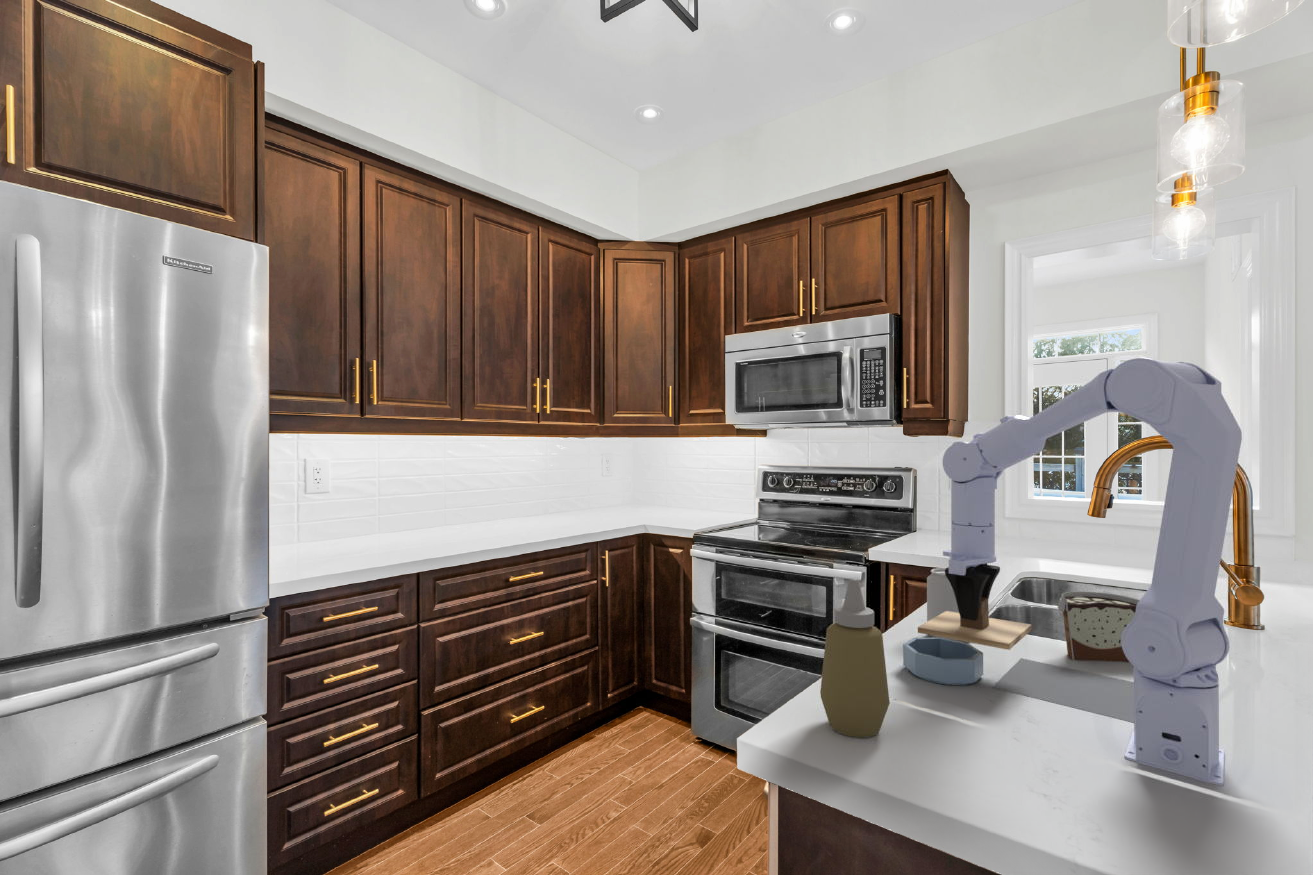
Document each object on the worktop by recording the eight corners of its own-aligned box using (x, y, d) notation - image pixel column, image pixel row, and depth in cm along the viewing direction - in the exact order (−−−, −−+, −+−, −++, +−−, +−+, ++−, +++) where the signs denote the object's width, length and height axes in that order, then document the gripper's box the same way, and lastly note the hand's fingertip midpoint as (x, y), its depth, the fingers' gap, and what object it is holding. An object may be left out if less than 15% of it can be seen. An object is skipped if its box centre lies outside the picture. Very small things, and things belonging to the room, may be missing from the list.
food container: (1120, 651, 102) (1120, 591, 102) (1146, 665, 96) (1146, 601, 96) (1042, 649, 104) (1042, 589, 104) (1062, 662, 98) (1062, 598, 98)
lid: (1009, 649, 82) (1008, 613, 82) (917, 632, 90) (916, 599, 91) (1031, 629, 91) (1030, 597, 91) (946, 615, 99) (945, 585, 99)
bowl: (967, 694, 85) (967, 665, 85) (895, 675, 92) (895, 648, 92) (989, 674, 92) (989, 647, 92) (920, 658, 99) (920, 633, 99)
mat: (1136, 726, 76) (1136, 722, 76) (992, 690, 86) (992, 687, 86) (1149, 688, 87) (1149, 685, 87) (1021, 660, 98) (1021, 658, 98)
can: (917, 634, 112) (917, 567, 112) (951, 630, 114) (951, 565, 114) (948, 647, 105) (948, 576, 105) (983, 643, 107) (983, 573, 107)
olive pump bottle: (859, 709, 80) (858, 570, 80) (904, 736, 73) (904, 584, 73) (806, 718, 77) (806, 575, 78) (848, 748, 70) (848, 589, 70)
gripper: (960, 517, 99) (960, 601, 99) (926, 526, 88) (926, 620, 88) (1009, 521, 94) (1009, 610, 94) (979, 531, 84) (979, 631, 84)
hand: (972, 616), depth 91 cm, fingers closed on lid, 3 cm apart
